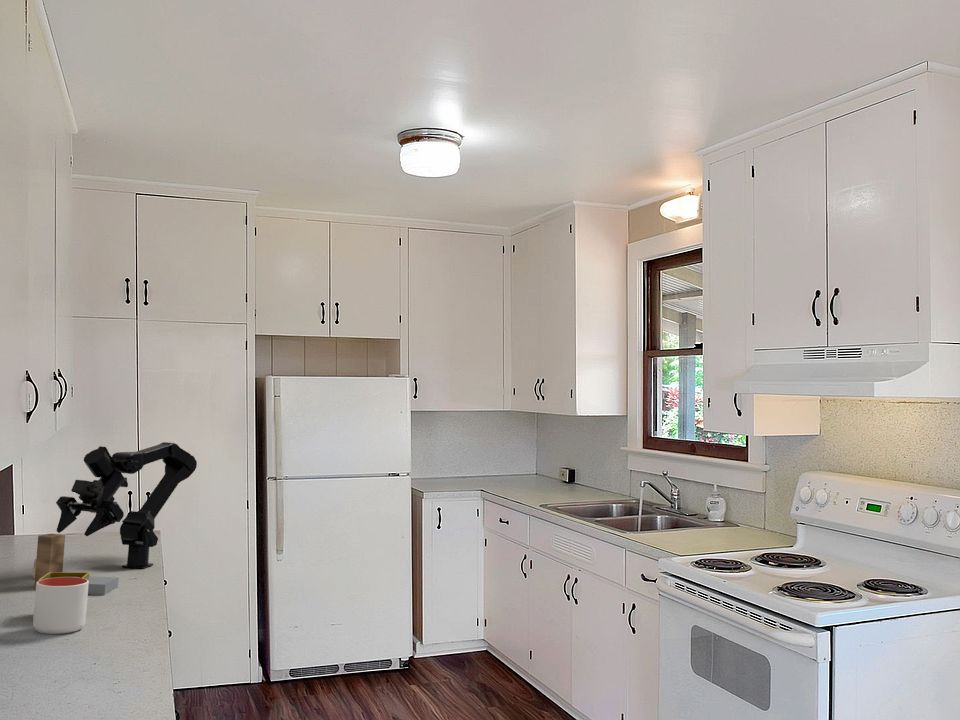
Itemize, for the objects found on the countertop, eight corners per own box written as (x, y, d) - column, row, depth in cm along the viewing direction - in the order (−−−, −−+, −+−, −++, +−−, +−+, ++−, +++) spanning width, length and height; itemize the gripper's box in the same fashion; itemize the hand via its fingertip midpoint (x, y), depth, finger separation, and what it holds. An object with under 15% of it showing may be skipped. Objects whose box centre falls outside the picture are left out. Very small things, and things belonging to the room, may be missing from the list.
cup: (21, 630, 180) (25, 581, 181) (64, 621, 189) (68, 574, 190) (53, 638, 176) (57, 588, 176) (95, 628, 184) (99, 581, 185)
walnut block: (47, 584, 224) (51, 533, 225) (61, 586, 222) (65, 535, 223) (34, 587, 220) (38, 535, 220) (47, 589, 218) (51, 537, 219)
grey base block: (82, 587, 224) (83, 576, 224) (117, 589, 224) (118, 577, 224) (67, 595, 215) (68, 583, 215) (104, 596, 215) (105, 584, 215)
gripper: (64, 466, 237) (28, 510, 226) (119, 471, 231) (85, 517, 220) (83, 493, 244) (49, 537, 233) (137, 498, 238) (105, 544, 227)
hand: (71, 533), depth 228 cm, fingers open, 9 cm apart
